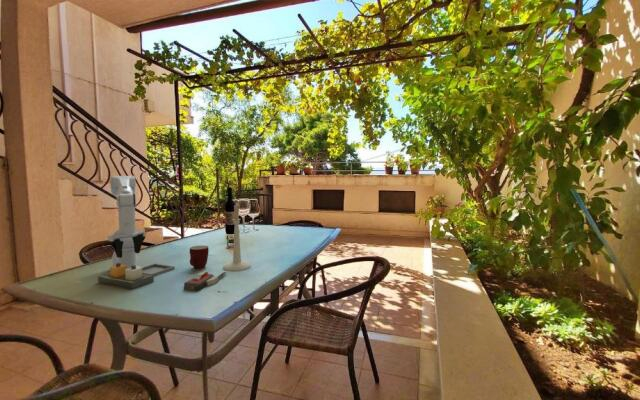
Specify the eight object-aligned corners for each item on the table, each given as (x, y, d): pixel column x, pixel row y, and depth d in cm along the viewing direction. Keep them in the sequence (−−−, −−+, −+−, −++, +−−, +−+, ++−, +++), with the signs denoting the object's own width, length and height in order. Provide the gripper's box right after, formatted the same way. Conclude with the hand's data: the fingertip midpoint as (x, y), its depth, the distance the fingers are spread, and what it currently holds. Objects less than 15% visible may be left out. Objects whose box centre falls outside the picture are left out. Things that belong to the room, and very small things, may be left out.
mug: (201, 273, 132) (201, 251, 131) (184, 272, 133) (183, 250, 132) (211, 266, 143) (211, 245, 142) (195, 265, 143) (194, 245, 142)
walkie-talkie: (202, 293, 111) (227, 275, 130) (202, 281, 110) (227, 265, 130) (180, 291, 112) (209, 274, 132) (180, 280, 112) (208, 264, 131)
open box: (98, 283, 118) (98, 276, 118) (120, 276, 126) (120, 269, 126) (132, 290, 111) (132, 282, 111) (153, 282, 120) (153, 275, 119)
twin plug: (125, 284, 116) (125, 266, 116) (135, 281, 120) (134, 263, 119) (133, 286, 115) (132, 267, 114) (142, 282, 118) (142, 264, 118)
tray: (131, 274, 129) (130, 270, 129) (155, 267, 140) (155, 263, 140) (151, 278, 125) (151, 274, 125) (174, 270, 136) (174, 266, 136)
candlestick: (256, 265, 145) (256, 203, 143) (238, 272, 133) (237, 205, 131) (236, 261, 150) (235, 202, 148) (217, 268, 139) (215, 204, 137)
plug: (110, 281, 119) (109, 264, 119) (120, 278, 123) (119, 261, 122) (117, 283, 118) (116, 265, 117) (127, 279, 121) (126, 262, 121)
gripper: (116, 225, 115) (117, 260, 116) (150, 220, 128) (151, 252, 129) (103, 224, 117) (105, 258, 118) (138, 219, 131) (139, 250, 132)
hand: (128, 255), depth 124 cm, fingers open, 7 cm apart
